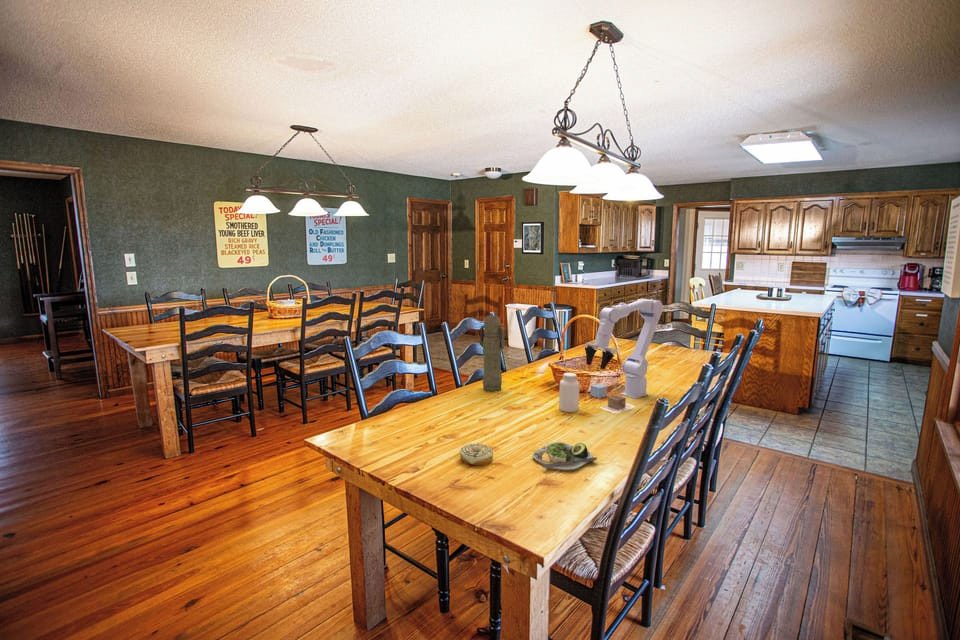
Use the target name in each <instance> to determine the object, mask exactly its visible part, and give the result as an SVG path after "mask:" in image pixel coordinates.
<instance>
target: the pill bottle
mask: <svg viewBox="0 0 960 640" xmlns="http://www.w3.org/2000/svg"><path fill="white" fill-rule="evenodd" d="M562 375H563V377H562V379H561V380H560V382H559V392H558V395H559V396H558V398H559V399H558V409H559V410H560V411H562V412H566V413H575V412H577V411H579V405H580V404H579V402H580V399H579V397H580V382H579V381H578V380H577V374H576V373H574V372H564V373H563V374H562Z"/></svg>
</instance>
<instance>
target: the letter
mask: <svg viewBox="0 0 960 640" xmlns="http://www.w3.org/2000/svg"><path fill="white" fill-rule="evenodd" d="M598 406H599V405H597V406H596V408H598ZM605 406H606V407H605V408H604V407H603V408H602V406H601V407H600V408H601V409H600V408H599V409H600V410H603V411H607V412H609V413H612V414H613V415H614V414H615V415H617V414H619V413H622V412H626V411H629V410H631V409H635V408H637V406H635V405H633V404H630V403H628V402H626V404H625V407H624V408H621V409H618V410H617V409H614V408H611V407H608V405H605Z"/></svg>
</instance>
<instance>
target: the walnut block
mask: <svg viewBox="0 0 960 640" xmlns="http://www.w3.org/2000/svg"><path fill="white" fill-rule="evenodd" d="M626 399H627V398H626V397H624V396H621V395H619V394H618V395H617V394H615V395H611V396H608V397H607V403H608V407H611V408H614V409H617V410H618V409H621V408H624V407H625V404H626V403H627V402H626Z"/></svg>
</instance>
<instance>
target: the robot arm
mask: <svg viewBox="0 0 960 640" xmlns="http://www.w3.org/2000/svg"><path fill="white" fill-rule="evenodd" d="M636 311H638V313H639V315H640V316H641V318H642V319H643V320H644V323H643V326H642V328H641V331H640V333H639V335H638V338H637V341H636V344H635V347H634V350H633V352H632V353H630V354H628V355H627V356H626V357H625V360H624V361H623V362H622V364H621V369H622V372H623V373H624V375H625V382H624V383H625V384H624V391H623V392H620V395H622V396H626V397H629V398H631V399H638V398H641V397H644V396H648V395H649V394H648V393H647V387H648V386H647V384H648V383H647V382H648V380H647V378H646V374H648V373H647V372H648V365H649V361H648V360H647V359H646V355H647V352H648V350H649V347H650V344H651V341H652V339H653V337H654V334H655V331H656V329H657V326H658V323H659V321H660V319H661V316H662V313H663V311H664V307H663V303H662V301H661V300H659V299H657V300H656V299H649V298H639V299H636V300H635V301H633V302H631V303H625V302H619V303H618V304H617V305H611V307H604V308H602V309H601V310H600V312H599V315H598V316H599V325H598V329H597V333H596V336H595V340H594V343H591V342H586V344H585V347H584V350H585V356H586V358H585V360H586V363H585V364H586V365H587V366H591V365H592V363H593V359H594V357H595V354H596V353H597V352H598V350H599V351H602V355H601V363H600V367H599V368H600V370H606V368H607V366H608V364H609V363H610V362H611V360H612V359H613V358H614V357H615V355H616V352H617V349H616V348H613V347H609V345H610V342H611V339H612V338H611V336H612V334H613V330H614V327H615V323H618V321H619V320H620V319H623V318H625V317H628V316H629V315H630V314H631V313H632V312H636Z"/></svg>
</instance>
